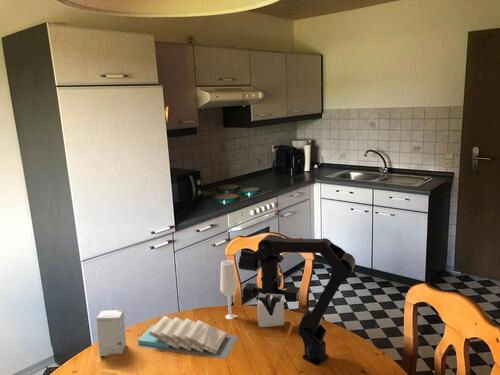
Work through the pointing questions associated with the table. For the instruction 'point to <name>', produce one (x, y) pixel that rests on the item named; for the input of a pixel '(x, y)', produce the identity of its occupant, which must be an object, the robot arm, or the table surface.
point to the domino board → (221, 352)
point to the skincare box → (111, 332)
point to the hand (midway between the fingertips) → (271, 315)
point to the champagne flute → (228, 283)
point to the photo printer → (265, 318)
